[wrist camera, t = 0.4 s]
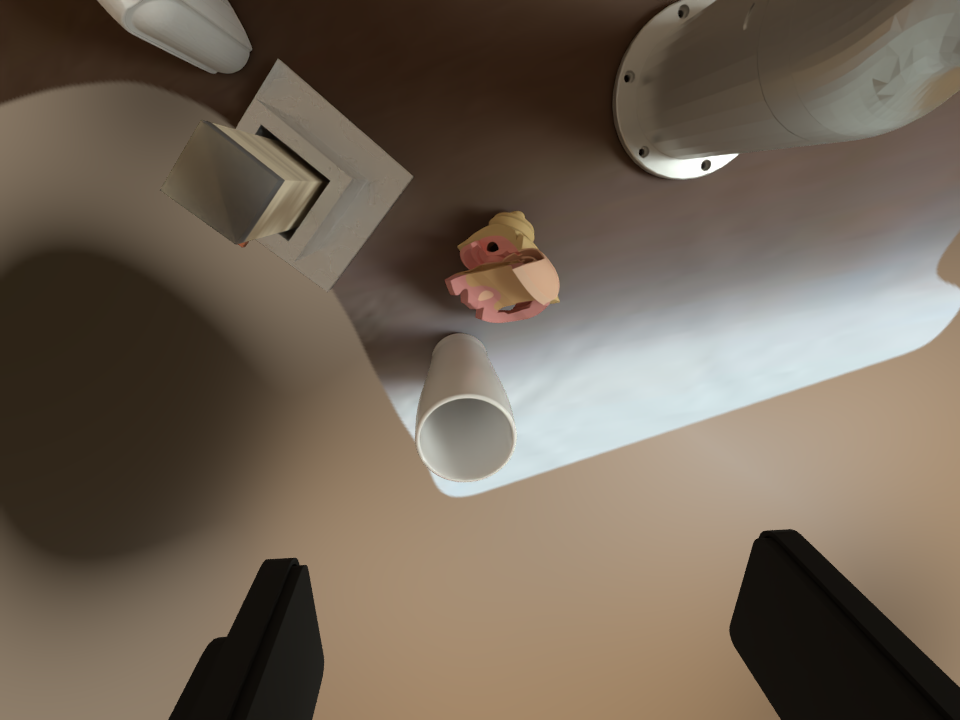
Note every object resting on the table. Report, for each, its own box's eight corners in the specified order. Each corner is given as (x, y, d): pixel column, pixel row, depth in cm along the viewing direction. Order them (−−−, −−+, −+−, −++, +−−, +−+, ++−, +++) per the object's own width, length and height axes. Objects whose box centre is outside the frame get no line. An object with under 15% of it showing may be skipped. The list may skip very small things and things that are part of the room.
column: (295, 144, 34) (200, 117, 21) (341, 182, 35) (279, 180, 22) (266, 189, 34) (158, 190, 21) (312, 224, 36) (236, 245, 23)
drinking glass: (410, 367, 43) (393, 455, 29) (449, 310, 41) (450, 374, 27) (469, 401, 44) (480, 499, 30) (508, 347, 43) (539, 426, 29)
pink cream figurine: (457, 195, 38) (554, 176, 32) (517, 261, 45) (605, 257, 39) (417, 288, 36) (512, 287, 29) (486, 343, 43) (574, 352, 36)
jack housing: (285, 64, 33) (234, 25, 25) (414, 176, 36) (405, 173, 29) (204, 195, 36) (136, 197, 28) (331, 288, 39) (302, 314, 31)
